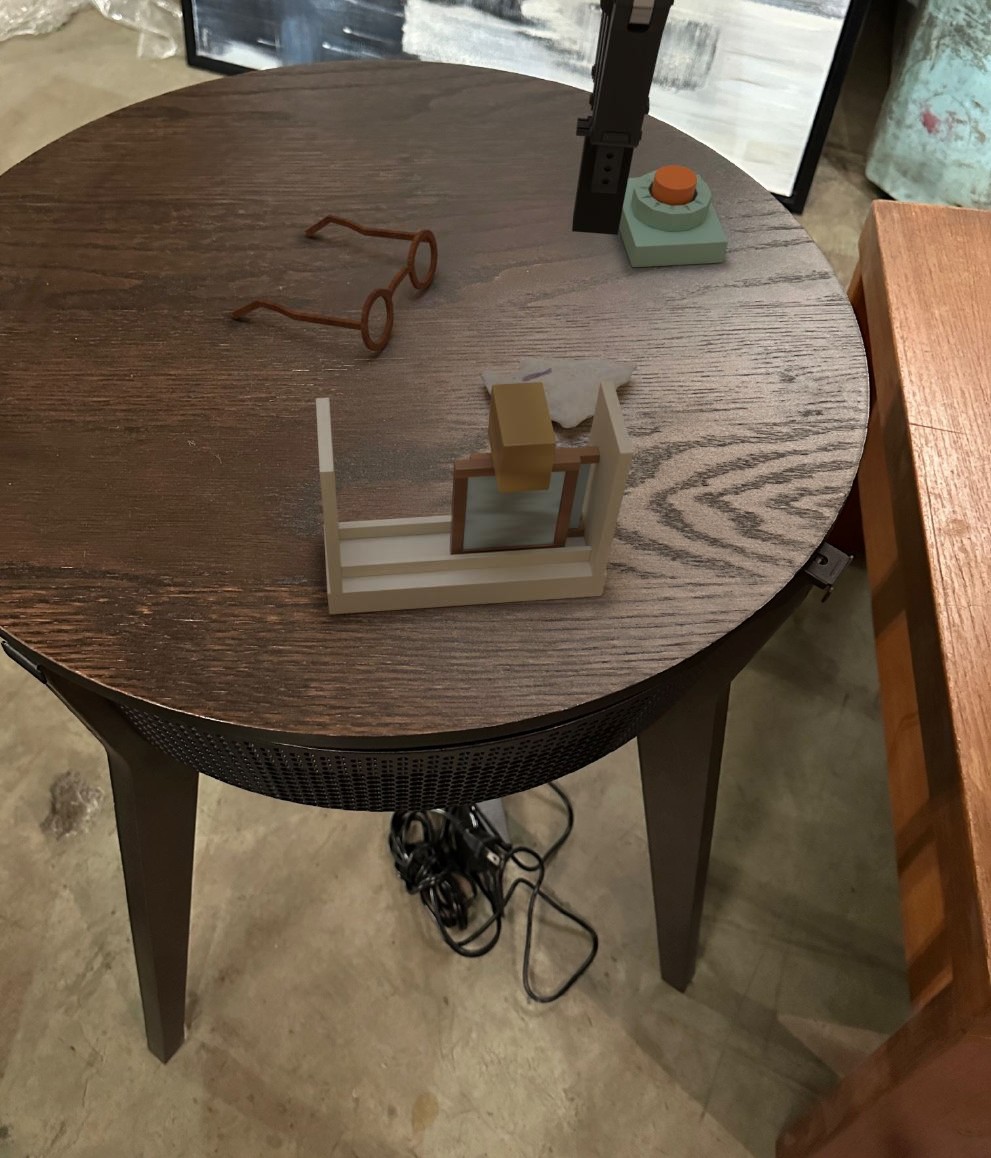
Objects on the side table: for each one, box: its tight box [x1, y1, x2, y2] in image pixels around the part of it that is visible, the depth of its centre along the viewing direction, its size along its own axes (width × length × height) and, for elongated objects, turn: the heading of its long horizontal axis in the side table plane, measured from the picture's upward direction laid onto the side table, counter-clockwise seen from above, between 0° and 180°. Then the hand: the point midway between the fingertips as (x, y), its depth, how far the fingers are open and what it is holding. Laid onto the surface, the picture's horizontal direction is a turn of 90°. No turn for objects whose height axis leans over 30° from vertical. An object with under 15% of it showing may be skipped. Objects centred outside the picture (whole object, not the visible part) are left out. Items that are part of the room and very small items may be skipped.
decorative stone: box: [480, 356, 638, 429], centre depth 85 cm, size 8×12×3 cm
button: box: [651, 164, 697, 206], centre depth 95 cm, size 4×4×2 cm
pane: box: [449, 382, 581, 555], centre depth 68 cm, size 8×5×13 cm, turn 95°
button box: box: [619, 169, 729, 268], centre depth 97 cm, size 8×10×4 cm
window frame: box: [315, 381, 635, 615], centre depth 70 cm, size 18×6×14 cm, turn 95°
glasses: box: [231, 214, 439, 352], centre depth 91 cm, size 13×13×5 cm
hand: (595, 225), depth 66 cm, fingers closed
